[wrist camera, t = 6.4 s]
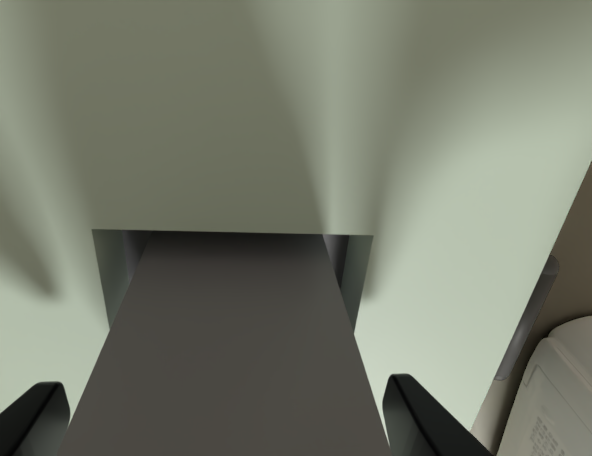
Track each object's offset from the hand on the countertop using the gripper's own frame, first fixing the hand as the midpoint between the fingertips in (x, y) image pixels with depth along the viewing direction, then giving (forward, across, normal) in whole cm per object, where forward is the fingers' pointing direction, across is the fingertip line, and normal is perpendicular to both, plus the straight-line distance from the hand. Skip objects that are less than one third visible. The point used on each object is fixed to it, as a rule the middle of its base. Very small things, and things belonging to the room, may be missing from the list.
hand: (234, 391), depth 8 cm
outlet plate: (+4, 0, 0) cm, 4 cm away
